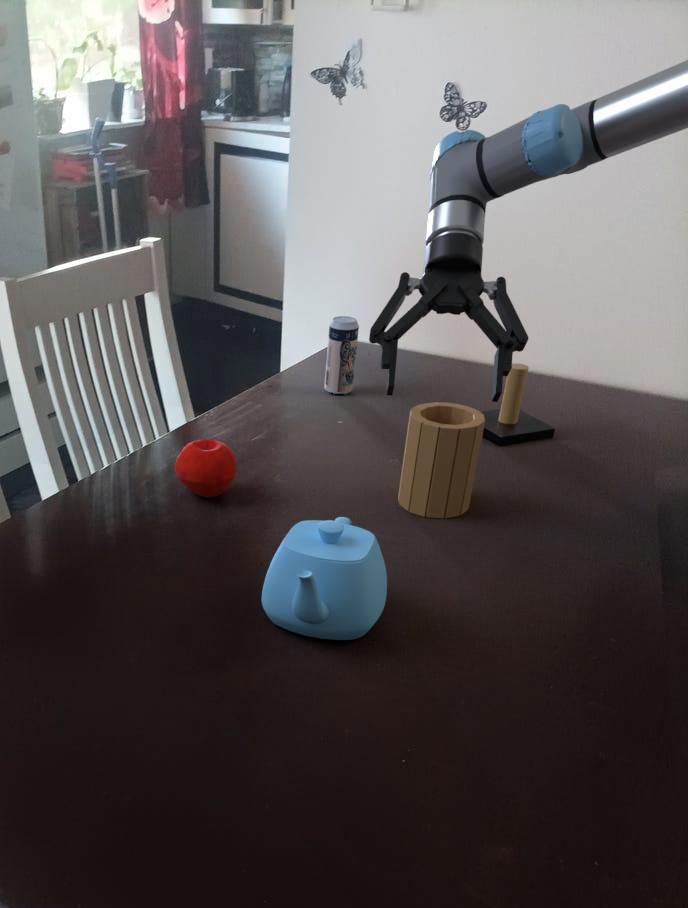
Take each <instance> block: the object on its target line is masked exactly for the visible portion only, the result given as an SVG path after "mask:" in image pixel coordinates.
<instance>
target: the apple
mask: <svg viewBox="0 0 688 908" xmlns="http://www.w3.org/2000/svg"><path fill="white" fill-rule="evenodd" d="M236 459H237V458H236V456H235V454H234V452H233V450H232V449H231V448H230V447H229V446H228V445H226V444H225V443H224V442H221V441H219V440H216V439H211V438H203V439H197V440H193V441H191V442H188V443H187V444H186V445H185V446H184V447H183V448H182V450H181V451H180V452H179V454H178V455H177V458H176V461H175V464H174V470H175V474H176V475H177V477H178V479H179V482H180V483H182V484H183V485H184V486H185V487H186V488H187V489H188V490H189V491H190V492H191V493H193V494H194V495H197V496H198V497H203V498H215V497H217V496H220V495H223V494H224V493H225V492H226V491H227V490H228V489H229V487H230V486H231V484H232V483H233V482H234V479H235V476H236V474H237V462H236V461H237V460H236Z"/></svg>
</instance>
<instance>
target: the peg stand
mask: <svg viewBox="0 0 688 908" xmlns="http://www.w3.org/2000/svg"><path fill="white" fill-rule="evenodd" d="M529 369H530V367H529V365H527V364H523V363H512V368H511V370H510V372H509V374H508V376H506V380H505V386H504V389H503V390H504V391H503V393H502V394H503V395H502V400H501V404H500V408H497V409H489V410H483V411H480V412H481V413H483V414H484V418H485V425H484V430H483V435H482V438H484V439H485V440H487V441H489V442H490V443H492V444H495V445H496V446H498V447H503V446H509V445H516V444H522V443H528V442H534V441H540V440H546V439H553V438H554V435H555V431H556V428H555V427H553V426H552V425H550V424H547V423H546V422H544V421H542V420H540V419H538V418H536V417H534V416H532V415H531V414H529V413H528V412H525V411H523V410H521V406H522V400H523V396H524V391H525V387H526V382H527V378H528V372H529Z"/></svg>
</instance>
